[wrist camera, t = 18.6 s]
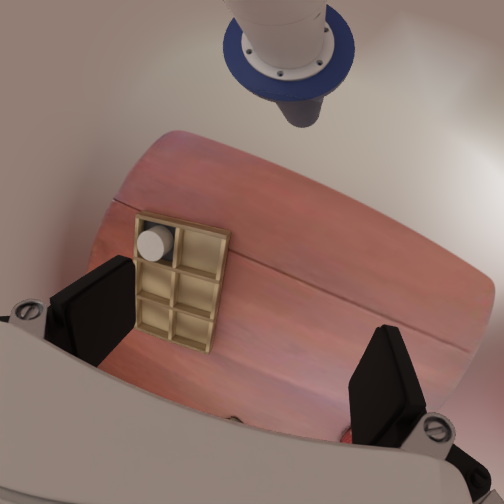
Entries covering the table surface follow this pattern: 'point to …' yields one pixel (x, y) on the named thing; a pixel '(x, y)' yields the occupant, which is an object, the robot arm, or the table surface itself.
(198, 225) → the compartment tray
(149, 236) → the grey squat cylinder
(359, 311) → the table surface
